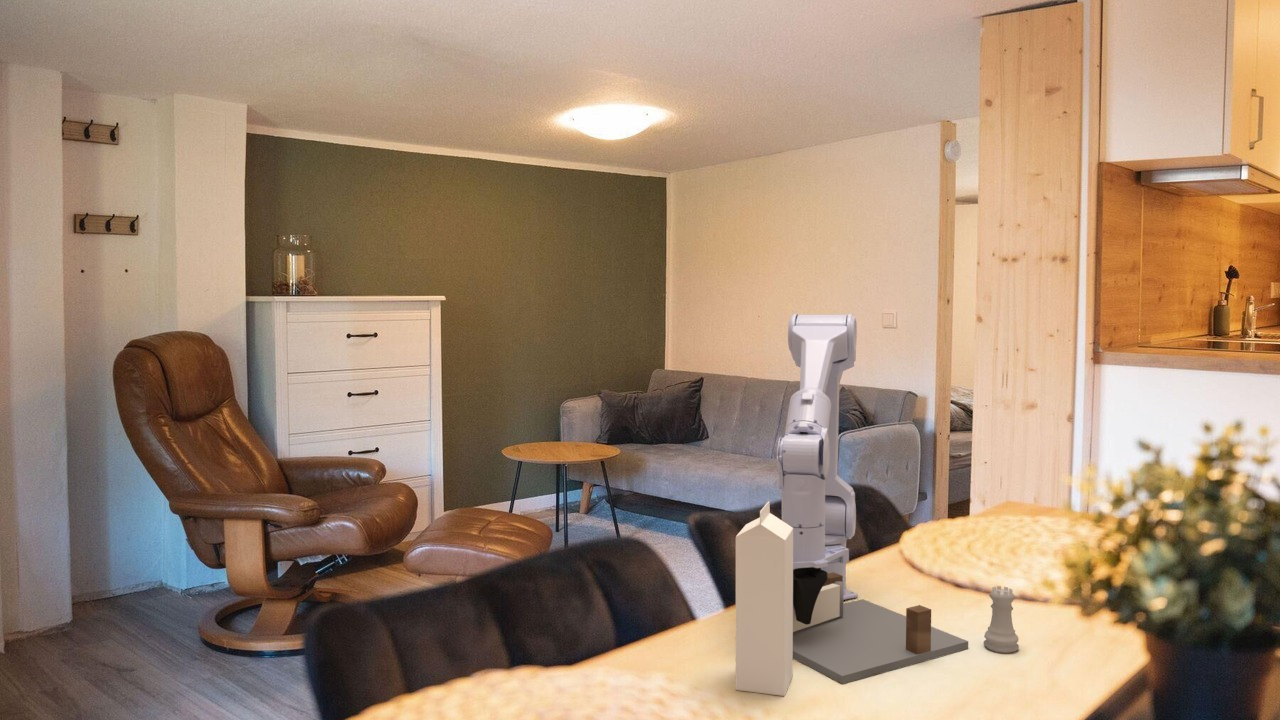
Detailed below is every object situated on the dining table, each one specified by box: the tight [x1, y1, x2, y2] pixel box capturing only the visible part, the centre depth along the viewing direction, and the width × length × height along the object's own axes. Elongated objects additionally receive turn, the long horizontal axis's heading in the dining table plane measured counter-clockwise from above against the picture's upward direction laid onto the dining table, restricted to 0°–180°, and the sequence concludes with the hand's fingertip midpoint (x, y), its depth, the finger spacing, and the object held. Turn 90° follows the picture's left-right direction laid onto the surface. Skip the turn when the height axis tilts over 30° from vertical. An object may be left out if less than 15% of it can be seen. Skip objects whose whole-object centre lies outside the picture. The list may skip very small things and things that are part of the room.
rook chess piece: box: [983, 585, 1020, 654], centre depth 127 cm, size 4×4×8 cm
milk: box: [735, 500, 794, 697], centre depth 115 cm, size 6×6×22 cm
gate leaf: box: [793, 581, 844, 632], centre depth 132 cm, size 13×2×5 cm, turn 128°
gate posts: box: [823, 572, 932, 654], centre depth 131 cm, size 19×2×6 cm, turn 30°
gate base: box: [793, 598, 969, 685], centre depth 130 cm, size 20×22×1 cm
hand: (803, 622), depth 128 cm, fingers closed, pressing on gate leaf
